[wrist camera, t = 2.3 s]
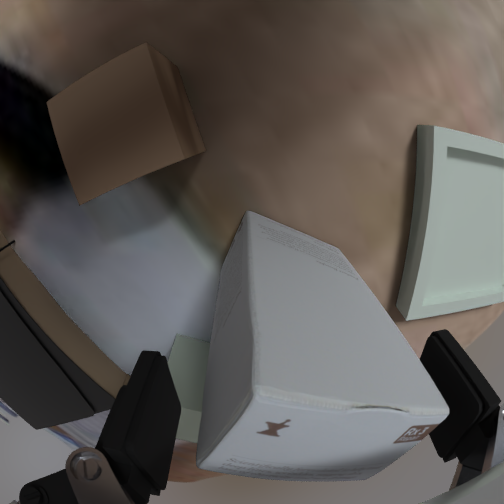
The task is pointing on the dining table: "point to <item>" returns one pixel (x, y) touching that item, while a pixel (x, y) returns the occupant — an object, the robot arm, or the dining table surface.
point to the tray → (454, 225)
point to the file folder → (47, 353)
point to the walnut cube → (123, 122)
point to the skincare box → (306, 366)
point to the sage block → (189, 382)
